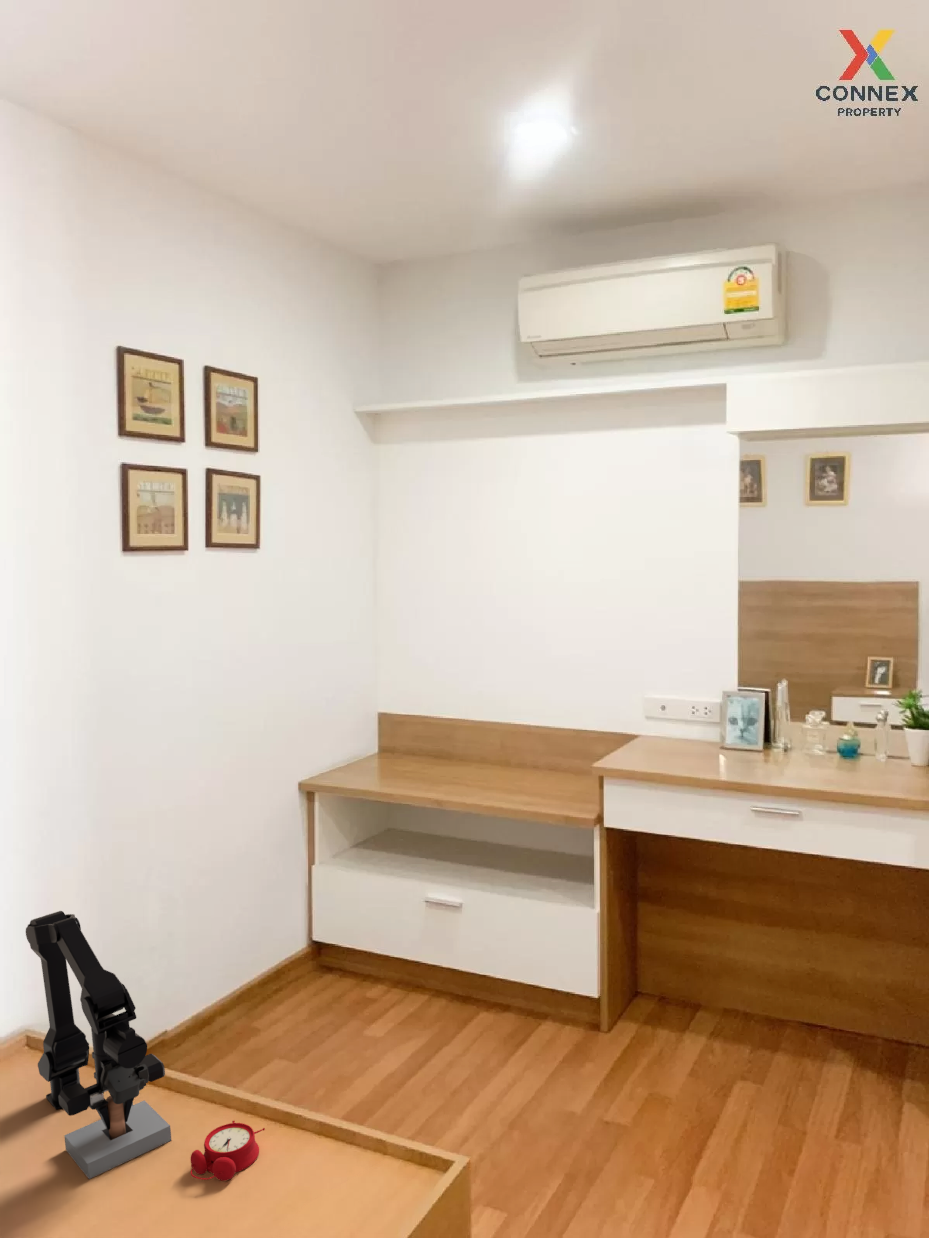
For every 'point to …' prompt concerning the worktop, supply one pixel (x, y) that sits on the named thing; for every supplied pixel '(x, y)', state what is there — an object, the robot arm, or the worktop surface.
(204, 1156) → the alarm clock
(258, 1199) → the worktop surface
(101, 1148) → the block
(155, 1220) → the worktop surface
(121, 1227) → the worktop surface
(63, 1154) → the worktop surface
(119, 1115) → the long dowel
